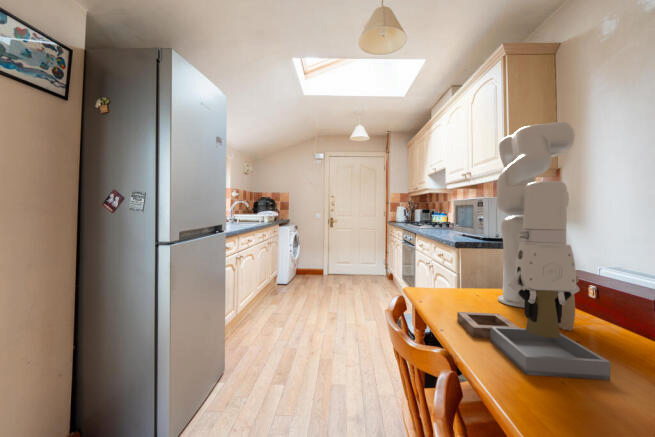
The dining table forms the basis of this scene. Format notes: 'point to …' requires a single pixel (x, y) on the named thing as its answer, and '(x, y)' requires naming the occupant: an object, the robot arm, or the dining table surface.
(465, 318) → the socket block
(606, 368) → the tray
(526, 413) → the dining table surface
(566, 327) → the handle
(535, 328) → the cork
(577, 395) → the dining table surface
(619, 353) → the dining table surface
